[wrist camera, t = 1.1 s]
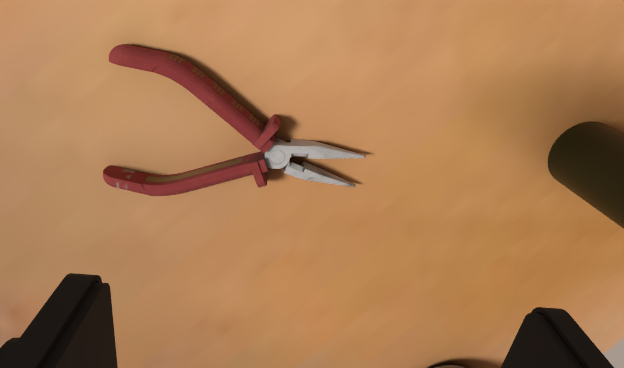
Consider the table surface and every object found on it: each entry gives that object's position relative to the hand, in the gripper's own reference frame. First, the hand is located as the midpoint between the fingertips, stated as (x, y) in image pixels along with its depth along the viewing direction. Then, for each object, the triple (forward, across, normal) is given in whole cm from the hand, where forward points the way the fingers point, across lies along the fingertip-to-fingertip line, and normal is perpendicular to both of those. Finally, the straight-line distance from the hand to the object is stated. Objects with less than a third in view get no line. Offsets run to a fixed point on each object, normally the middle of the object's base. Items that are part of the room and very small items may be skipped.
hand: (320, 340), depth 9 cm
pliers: (+26, +5, +6) cm, 27 cm away
